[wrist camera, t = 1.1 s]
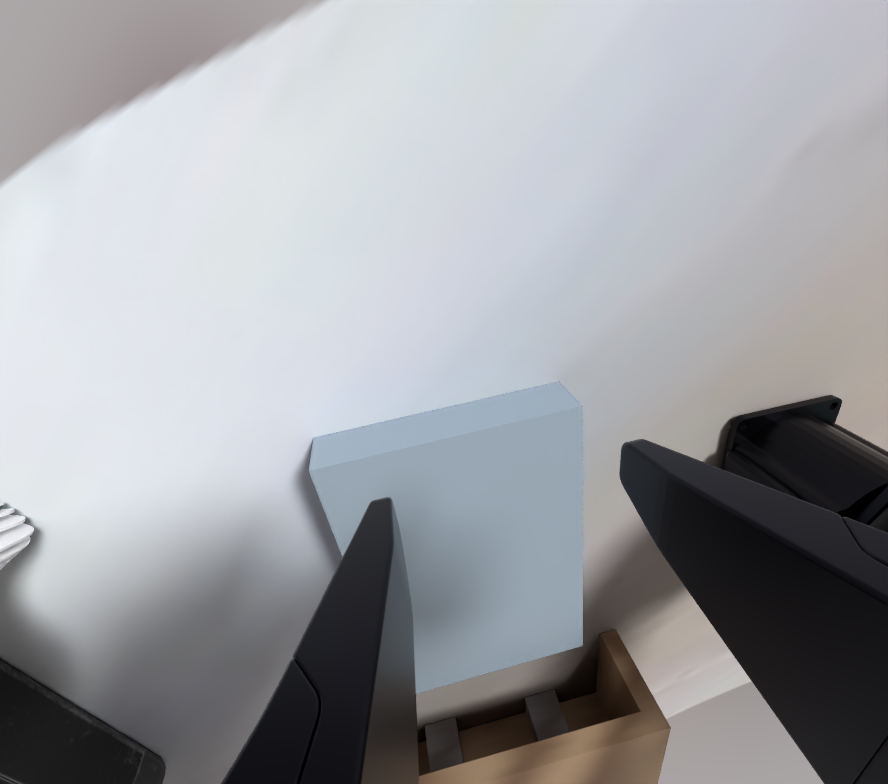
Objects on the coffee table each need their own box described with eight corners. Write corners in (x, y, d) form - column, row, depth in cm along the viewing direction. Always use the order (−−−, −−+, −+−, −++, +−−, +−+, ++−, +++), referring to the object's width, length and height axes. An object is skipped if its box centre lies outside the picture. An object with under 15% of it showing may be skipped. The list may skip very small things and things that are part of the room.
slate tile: (554, 376, 22) (582, 405, 19) (563, 604, 30) (582, 645, 28) (314, 432, 21) (308, 470, 18) (393, 651, 29) (397, 699, 27)
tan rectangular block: (615, 629, 32) (670, 727, 26) (609, 695, 36) (655, 791, 31) (343, 702, 30) (341, 825, 24) (371, 762, 34) (374, 878, 29)
